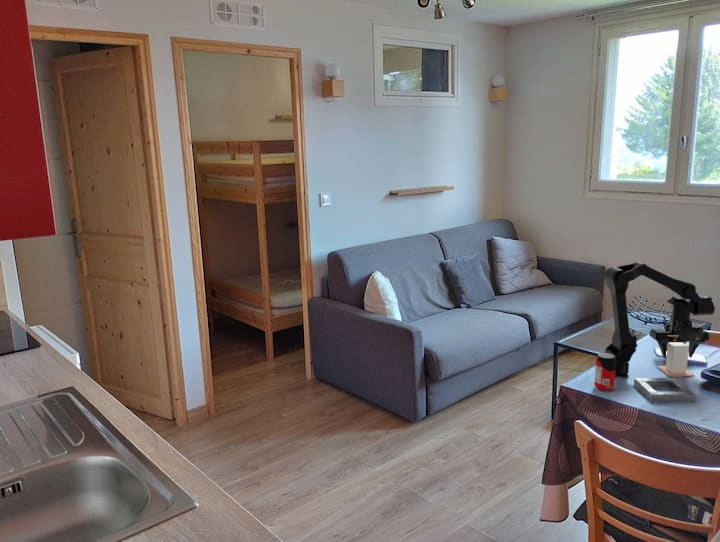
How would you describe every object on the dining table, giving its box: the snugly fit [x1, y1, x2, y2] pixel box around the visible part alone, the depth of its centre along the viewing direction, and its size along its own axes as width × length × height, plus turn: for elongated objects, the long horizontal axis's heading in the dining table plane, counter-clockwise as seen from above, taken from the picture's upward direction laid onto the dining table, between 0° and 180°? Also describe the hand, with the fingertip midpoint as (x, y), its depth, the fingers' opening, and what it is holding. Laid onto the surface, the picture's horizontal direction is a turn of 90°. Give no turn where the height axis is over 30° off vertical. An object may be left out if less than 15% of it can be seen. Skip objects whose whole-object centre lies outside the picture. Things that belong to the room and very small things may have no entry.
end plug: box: [665, 342, 689, 373], centre depth 207 cm, size 5×5×10 cm
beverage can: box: [593, 352, 616, 392], centre depth 194 cm, size 6×6×12 cm
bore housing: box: [633, 377, 697, 403], centre depth 190 cm, size 14×14×2 cm
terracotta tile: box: [657, 365, 696, 378], centre depth 208 cm, size 9×9×1 cm
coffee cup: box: [663, 321, 687, 351], centre depth 224 cm, size 9×8×13 cm
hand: (677, 357), depth 207 cm, fingers open, 9 cm apart
